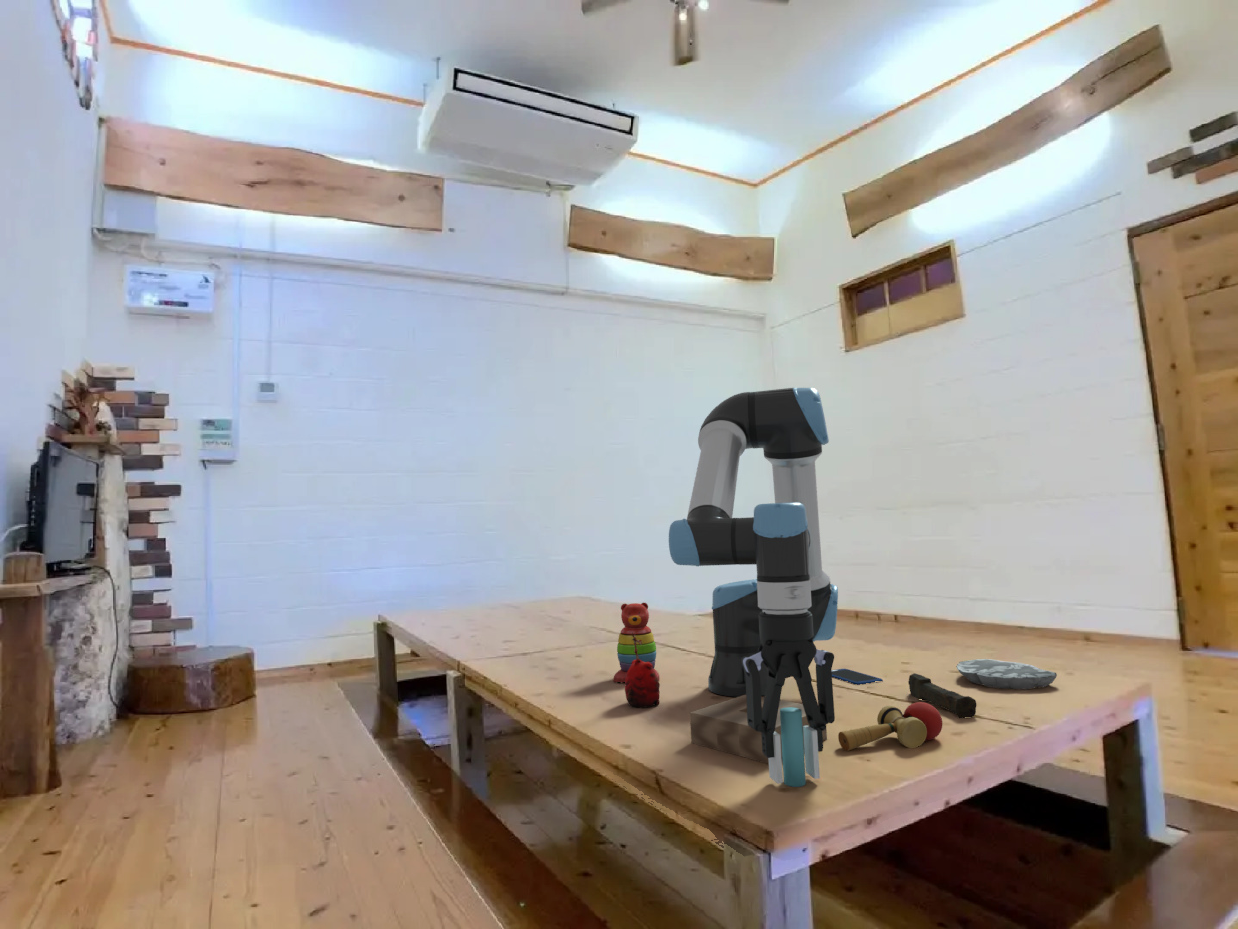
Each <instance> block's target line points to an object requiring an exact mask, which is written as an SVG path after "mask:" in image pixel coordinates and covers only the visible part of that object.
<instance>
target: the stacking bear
mask: <svg viewBox="0 0 1238 929" xmlns="http://www.w3.org/2000/svg"><path fill="white" fill-rule="evenodd" d="M648 608H649V605H648V603H647V602H642V603H637V602H636V603H635V602H634V603H633V602H632V603H622V604H621V605H620V611H621V617H620V618H621V622H622V624H623V626H624V627H623V628H621V630H620V633H619V635H618V639H617V642H618V643H617V647H616V648H617V649H616V651H617V654H616V655H617V659H618V662H619V666H620V669H619V670H618V671H616V673H615V674H614V675H613V678H612V681H613V683H615V682H625V678H626V676H627V671H628V669H629V668H630V666H631V665H632V661H633V660H636V653H635V652H634V649H635V645H634V640H632V639H633V638H634V637H633V636H632V633H633V635H634V636H635V637H636V639H637V640H642V645H641V644H639V643H638V642H636V646H637V649H638V651H637V654H638V657H639V659H640V660H641V661H643V662H650V663H651V664H652V665H653V669H654V671H655V672H656V674H657V678H658V682H660V680H661V678H660V674H659V672H658V671H657V670H656V668H655V666H656V659H657V645H656V641H655V638H654V634H653V632H652V629H651V628H650V627H649V626H647V625H648V622H649V618H650V614H649V609H648Z"/></svg>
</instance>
